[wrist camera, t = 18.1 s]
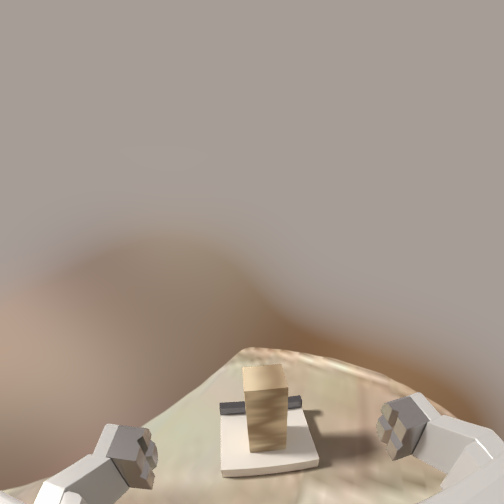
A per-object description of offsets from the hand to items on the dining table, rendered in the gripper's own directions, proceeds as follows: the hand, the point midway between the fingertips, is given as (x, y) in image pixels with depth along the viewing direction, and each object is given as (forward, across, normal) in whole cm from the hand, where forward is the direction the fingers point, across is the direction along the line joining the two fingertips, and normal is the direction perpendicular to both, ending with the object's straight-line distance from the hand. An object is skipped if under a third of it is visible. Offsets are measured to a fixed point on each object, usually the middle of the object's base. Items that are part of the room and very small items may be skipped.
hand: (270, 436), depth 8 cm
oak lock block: (+22, -2, +26) cm, 34 cm away
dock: (+23, -2, +28) cm, 36 cm away
